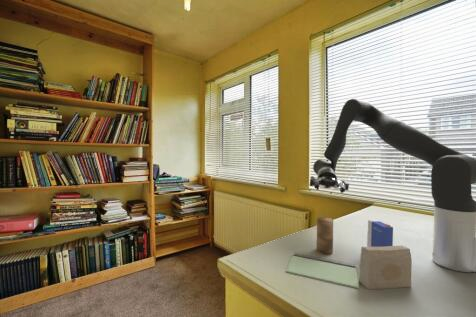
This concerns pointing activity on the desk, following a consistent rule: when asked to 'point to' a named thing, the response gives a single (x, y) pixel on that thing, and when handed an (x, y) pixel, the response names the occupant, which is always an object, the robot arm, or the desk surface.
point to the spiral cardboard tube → (324, 236)
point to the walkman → (379, 234)
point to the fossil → (385, 267)
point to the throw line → (325, 260)
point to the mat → (324, 271)
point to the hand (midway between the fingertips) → (330, 188)
